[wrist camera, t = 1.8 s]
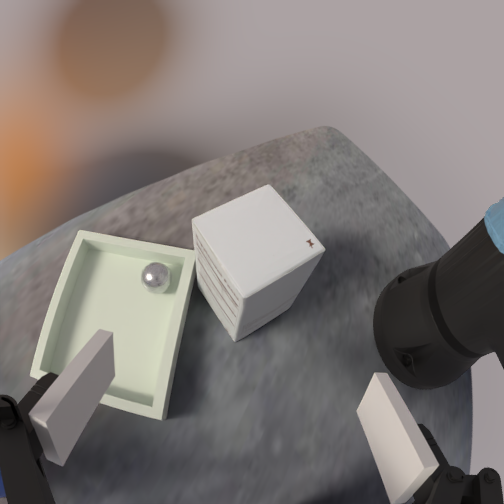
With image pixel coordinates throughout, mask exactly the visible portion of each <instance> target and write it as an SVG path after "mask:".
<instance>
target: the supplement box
mask: <svg viewBox="0 0 504 504" xmlns="http://www.w3.org/2000/svg"><path fill="white" fill-rule="evenodd" d="M192 227H193V240H194V250H195V260H196V272H197V282H198V288H199V289H200V291H201V292H202V294H203V295H204V297H205V298H206V300H207V302H208V303H209V305H210V306H211V308H212V309H213V311H214V312H215V314H216V315H217V317H218V318H219V320H220V321H221V323H222V324H223V326H224V327H225V329H226V330H227V332H228V333H229V335H230V336H231V338H232V339H233V341H234V342H237V341H238V340H240V339H242V338H244V337H245V336H247V335H249V334H250V333H252V332H253V331H255V330H257V329H258V328H260V327H261V326H263V325H264V324H266V323H268V322H269V321H271V320H272V319H274V318H275V317H277V316H278V315H280V314H281V313H283V312H284V311H286V310H287V309H289V308H290V306H291V305H292V303H293V302H294V300H295V299H296V297H297V296H298V294H299V292H300V291H301V289H302V288H303V286H304V284H305V283H306V281H307V280H308V278H309V276H310V275H311V273H312V272H313V270H314V268H315V267H316V265H317V264H318V262H319V260H320V259H321V257H322V255H323V254H324V252H325V250H326V249H325V247H324V246H323V245H322V244H321V243H320V242H319V240H318V239H317V238H316V237H315V236H314V234H313V233H312V232H311V231H310V230H309V228H308V227H307V226H306V225H305V224H304V223H303V222H302V220H301V219H300V218H299V217H298V216H297V215H296V213H295V212H294V211H293V210H292V209H291V208H290V207H289V205H288V204H287V203H286V202H285V201H284V200H283V199H282V198H281V196H280V195H279V194H278V193H277V192H276V191H275V190H274V189H273V188H272V187H271V186H270V185H269V184H268V185H265V186H263V187H261V188H259V189H256V190H254V191H252V192H250V193H248V194H245V195H243V196H241V197H239V198H236V199H234V200H232V201H230V202H228V203H225V204H223V205H221V206H219V207H217V208H215V209H212V210H210V211H208V212H206V213H204V214H202V215H199V216H197V217H195V218H193V219H192Z"/></svg>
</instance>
